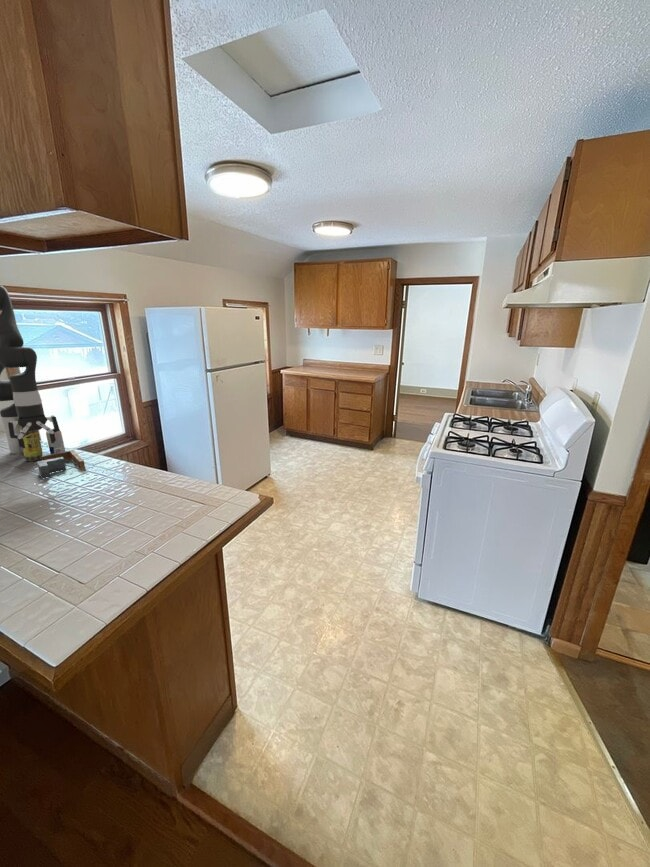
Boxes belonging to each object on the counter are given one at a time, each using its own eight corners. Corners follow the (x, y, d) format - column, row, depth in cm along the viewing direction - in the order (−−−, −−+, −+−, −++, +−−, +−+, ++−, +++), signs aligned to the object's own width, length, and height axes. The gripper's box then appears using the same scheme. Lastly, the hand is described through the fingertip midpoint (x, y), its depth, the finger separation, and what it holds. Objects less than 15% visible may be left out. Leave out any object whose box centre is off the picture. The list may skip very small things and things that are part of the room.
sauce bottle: (32, 462, 147) (21, 417, 141) (21, 460, 148) (10, 416, 143) (47, 457, 153) (37, 414, 147) (37, 456, 154) (27, 412, 149)
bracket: (39, 473, 136) (36, 461, 134) (64, 468, 142) (62, 456, 140) (42, 478, 131) (39, 466, 130) (68, 472, 137) (66, 461, 136)
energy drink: (54, 455, 156) (48, 429, 152) (68, 454, 157) (62, 428, 154) (49, 459, 151) (43, 433, 148) (63, 457, 153) (57, 432, 149)
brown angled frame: (43, 464, 145) (41, 455, 144) (74, 458, 152) (73, 449, 151) (52, 477, 132) (49, 467, 131) (85, 469, 140) (83, 460, 139)
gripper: (50, 399, 133) (59, 439, 137) (1, 404, 123) (12, 447, 127) (54, 402, 128) (63, 443, 132) (3, 407, 118) (14, 452, 122)
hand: (38, 445), depth 130 cm, fingers open, 8 cm apart
